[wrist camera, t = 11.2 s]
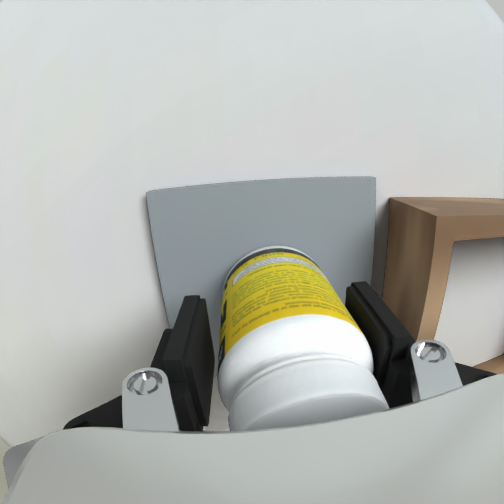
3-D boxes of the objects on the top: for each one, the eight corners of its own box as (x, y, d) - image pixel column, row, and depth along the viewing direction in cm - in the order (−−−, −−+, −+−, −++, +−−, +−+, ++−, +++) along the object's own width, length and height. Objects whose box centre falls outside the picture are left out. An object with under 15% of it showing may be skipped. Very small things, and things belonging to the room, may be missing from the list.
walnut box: (512, 357, 18) (536, 381, 14) (361, 408, 18) (378, 451, 14) (552, 201, 13) (588, 215, 10) (389, 197, 13) (436, 216, 9)
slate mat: (357, 355, 16) (360, 361, 16) (183, 371, 16) (182, 376, 15) (371, 176, 13) (375, 177, 12) (149, 190, 13) (146, 192, 12)
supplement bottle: (205, 266, 13) (174, 417, 5) (306, 227, 13) (403, 339, 5) (245, 348, 15) (257, 499, 7) (334, 315, 14) (406, 450, 7)
